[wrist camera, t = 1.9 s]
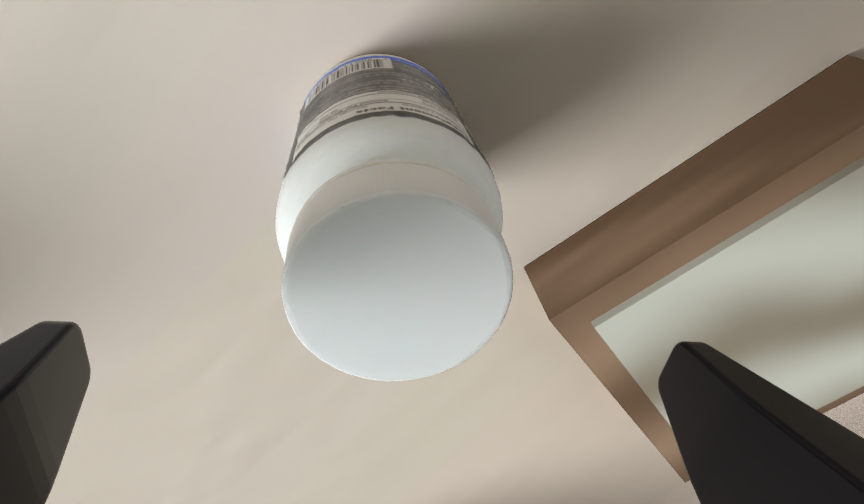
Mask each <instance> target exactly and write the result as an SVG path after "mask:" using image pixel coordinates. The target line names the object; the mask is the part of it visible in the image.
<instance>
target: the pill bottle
mask: <svg viewBox="0 0 864 504" xmlns="http://www.w3.org/2000/svg"><path fill="white" fill-rule="evenodd" d="M275 219H276V236H277V241H278V245H279V249H280V252H281V255H282V258H283V260H284V262H285V264H284V269H283V275H282V300H283V305H284V309H285V313H286V316H287V319H288V321H289V323H290V325H291V327H292V329H293V331H294V332H295V334H296V336H297V337H298V338H299V340H300V341H301V342H302V343H303V345H304V346H305V347H306V348H307V349H308V350H309V351H310V352H312V353H313V354H314V355H315V356H316V357H317V358H319V359H320V360H322V361H323V362H325V363H327V364H329V365H330V366H332V367H334V368H336V369H338V370H340V371H342V372H345V373H347V374H350V375H354V376H358V377H361V378H366V379H371V380H379V381H405V380H412V379H419V378H424V377H428V376H431V375H435V374H438V373H441V372H444V371H446V370H448V369H450V368H452V367H454V366H456V365H458V364H460V363H462V362H464V361H465V360H466V359H468V358H469V357H470V356H472V355H473V354H474V353H476V352H477V351H478V350H479V349H480V348H481V347H482V346H484V345H485V344H486V343H487V342H488V341H489V339H490V338H491V337H492V336H493V335H494V334H495V332H496V331H497V329H498V328H499V326H500V325H501V323H502V322H503V319H504V317H505V315H506V313H507V310H508V307H509V305H510V301H511V297H512V290H513V270H512V263H511V258H510V255H509V252H508V250H507V247H506V244H505V242H504V239H503V237H502V235H501V232H502V221H503V215H502V205H501V198H500V193H499V190H498V187H497V184H496V181H495V178H494V175H493V173H492V171H491V169H490V167H489V165H488V163H487V161H486V160H485V158H484V156H483V155H482V154H481V152H480V150H479V149H478V147H477V146H476V144H475V142H474V141H473V138H472V136H471V134H470V132H469V131H468V128H467V126H466V124H465V123H464V122H463V120H462V118H461V116H460V115H459V113H458V111H457V109H456V107H455V106H454V104H453V102H452V100H451V98H450V96H449V95H448V93H447V91H446V90H445V89H444V87H443V86H442V85H441V83H440V82H439V81H438V80H437V79H436V78H435V77H434V76H433V75H432V74H431V73H430V72H428V71H427V70H426V69H425V68H423V67H422V66H420V65H418V64H416V63H414V62H412V61H410V60H407V59H405V58H402V57H398V56H394V55H388V54H367V55H361V56H357V57H354V58H351V59H348V60H346V61H343V62H341V63H340V64H338V65H336V66H334V67H333V68H331V69H330V70H328V71H327V72H326V73H325V74H324V75H323V76H322V77H321V78H320V79H319V80H318V81H317V82H316V84H315V85H314V86H313V88H312V89H311V91H310V92H309V94H308V96H307V98H306V100H305V102H304V105H303V107H302V109H301V111H300V118H299V122H298V125H297V129H296V133H295V137H294V140H293V144H292V148H291V151H290V155H289V159H288V163H287V166H286V171H285V174H284V177H283V181H282V186H281V190H280V194H279V198H278V203H277V210H276V218H275Z"/></svg>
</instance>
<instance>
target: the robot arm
mask: <svg viewBox="0 0 864 504" xmlns="http://www.w3.org/2000/svg"><path fill="white" fill-rule="evenodd" d="M89 380H90V364H89V360H88V356H87V352H86V347H85V343H84V339H83V335H82V331H81V329H80V327H79V326H78V325H77V324H76V323H74V322H60V321H44V322H40V323H38V324H36V325H34V326H32V327H30V328H29V329H27V330H25V331H23V332H22V333H20V334H18V335H16V336H14V337H13V338H11V339H9V340H7V341H5V342H4V343H2V344H0V504H45V502H46V500H47V498H48V496H49V494H50V491H51V489H52V486H53V484H54V481H55V479H56V476H57V473H58V471H59V468H60V465H61V462H62V459H63V456H64V453H65V450H66V448H67V445H68V442H69V439H70V436H71V433H72V430H73V427H74V425H75V422H76V419H77V416H78V413H79V410H80V407H81V404H82V402H83V399H84V396H85V393H86V390H87V387H88V384H89ZM658 389H659V393H660V396H661V399H662V402H663V405H664V408H665V411H666V413H667V416H668V419H669V422H670V425H671V428H672V431H673V434H674V437H675V439H676V442H677V445H678V448H679V451H680V454H681V457H682V460H683V462H684V465H685V468H686V470H687V473H688V476H689V478H690V480H691V483H692V485H693V487H694V490H695V492H696V494H697V496H698V499H699V501H700V503H701V504H864V439H863V438H862V437H860V436H858V435H857V434H855V433H854V432H852V431H850V430H849V429H847V428H845V427H844V426H842V425H840V424H839V423H837V422H835V421H834V420H832V419H830V418H829V417H827V416H825V415H824V414H822V413H820V412H819V411H817V410H815V409H814V408H812V407H810V406H809V405H807V404H805V403H804V402H802V401H801V400H799V399H797V398H796V397H794V396H792V395H791V394H789V393H787V392H786V391H784V390H782V389H781V388H779V387H777V386H776V385H774V384H772V383H771V382H769V381H767V380H766V379H764V378H762V377H761V376H759V375H757V374H756V373H754V372H752V371H751V370H749V369H748V368H746V367H744V366H743V365H741V364H739V363H738V362H736V361H734V360H733V359H731V358H729V357H728V356H726V355H724V354H723V353H721V352H719V351H718V350H716V349H714V348H713V347H711V346H709V345H708V344H706V343H703V342H691V341H682V342H679V343H677V344H676V345H675V346H674V348H673V350H672V352H671V354H670V356H669V358H668V360H667V362H666V364H665V366H664V368H663V370H662V372H661V374H660V376H659V380H658Z"/></svg>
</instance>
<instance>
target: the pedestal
mask: <svg viewBox="0 0 864 504" xmlns="http://www.w3.org/2000/svg"><path fill="white" fill-rule="evenodd" d="M524 269H525V271H526V273H527V275H528V277H529V279H530V281H531V283H532V285H533V287H534V289H535V291H536V293H537V296H538V298H539V300H540V302H541V304H542V306H543V308H544V310H545V312H546V314H547V316H548V318H549V320H550V321H551V323H552V324H553V325H554V326H555V327H556V329H557V330H558V331H559V332H560V333H561V335H562V336H563V337H564V338H565V339H566V341H567V342H568V343H569V344H570V345H571V347H572V348H573V349H574V350H575V351H576V353H577V354H578V355H579V356H580V357H581V359H582V360H583V361H584V362H585V363H586V364H587V366H588V367H589V368H590V369H591V370H592V372H593V373H594V374H595V375H596V376H597V378H598V379H599V380H600V381H601V382H602V384H603V385H604V386H605V387H606V388H607V390H608V391H609V392H610V393H611V394H612V396H613V397H614V398H615V399H616V400H617V402H618V403H619V404H620V405H621V406H622V408H623V409H624V410H625V411H626V412H627V414H628V415H629V416H630V417H631V418H632V419H633V421H634V422H635V423H636V424H637V425H638V427H639V428H640V429H641V430H642V431H643V433H644V434H645V435H646V436H647V437H648V439H649V440H650V441H651V442H652V443H653V445H654V446H655V447H656V448H657V449H658V451H659V452H660V453H661V454H662V455H663V457H664V458H665V459H666V460H667V461H668V463H669V464H670V465H671V466H672V467H673V468H674V470H675V471H676V472H677V473H678V474H679V476H680V477H681V478H682V479H683V480H684V482H687V481H689V480H690V478H689V476H688V473H687V470H686V468H685V465H684V462H683V460H682V457H681V454H680V451H679V448H678V445H677V442H676V439H675V437H674V434H673V431H672V428H671V425H670V422H669V419H668V416H667V413H666V411H665V408H664V405H663V402H662V399H661V396H660V393H659V389H658V380H659V376H660V374H661V372H662V370H663V368H664V366H665V364H666V362H667V360H668V358H669V356H670V354H671V352H672V350H673V348H674V346H675V345H676V344H677V343H679V342H682V341H691V342H703V343H706V344H708V345H709V346H711V347H713V348H714V349H716V350H718V351H719V352H721V353H723V354H724V355H726V356H728V357H729V358H731V359H733V360H734V361H736V362H738V363H739V364H741V365H743V366H744V367H746V368H748V369H749V370H751V371H752V372H754V373H756V374H757V375H759V376H761V377H762V378H764V379H766V380H767V381H769V382H771V383H772V384H774V385H776V386H777V387H779V388H781V389H782V390H784V391H786V392H787V393H789V394H791V395H792V396H794V397H796V398H797V399H799V400H801V401H802V402H804V403H805V404H807V405H809V406H810V407H812V408H814V409H815V410H817V411H819V412H820V413H822V414H823V413H824V412H826V411H828V410H830V409H832V408H834V407H836V406H838V405H840V404H842V403H844V402H846V401H848V400H850V399H852V398H854V397H856V396H858V395H860V394H862V393H864V60H862V59H858V58H855V57H851V56H848V55H847V56H845V57H844V58H842V59H841V60H839V61H838V62H836V63H835V64H833V65H832V66H830V67H829V68H827V69H826V70H824V71H823V72H821V73H820V74H818V75H817V76H815V77H813V78H812V79H810V80H809V81H807V82H806V83H804V84H803V85H801V86H800V87H798V88H797V89H795V90H794V91H792V92H791V93H789V94H788V95H786V96H785V97H783V98H781V99H780V100H778V101H777V102H775V103H774V104H772V105H771V106H769V107H768V108H766V109H765V110H763V111H762V112H760V113H759V114H757V115H756V116H754V117H753V118H751V119H749V120H748V121H746V122H745V123H743V124H742V125H740V126H739V127H737V128H736V129H734V130H733V131H731V132H730V133H728V134H727V135H725V136H724V137H722V138H721V139H719V140H717V141H716V142H714V143H713V144H711V145H710V146H708V147H707V148H705V149H704V150H702V151H701V152H699V153H698V154H696V155H695V156H693V157H692V158H690V159H689V160H687V161H685V162H684V163H682V164H681V165H679V166H678V167H676V168H675V169H673V170H672V171H670V172H669V173H667V174H666V175H664V176H663V177H661V178H660V179H658V180H656V181H655V182H653V183H652V184H650V185H649V186H647V187H646V188H644V189H643V190H641V191H640V192H638V193H637V194H635V195H634V196H632V197H631V198H629V199H628V200H626V201H624V202H623V203H621V204H620V205H618V206H617V207H615V208H614V209H612V210H611V211H609V212H608V213H606V214H605V215H603V216H602V217H600V218H599V219H597V220H596V221H594V222H592V223H591V224H589V225H588V226H586V227H585V228H583V229H582V230H580V231H579V232H577V233H576V234H574V235H573V236H571V237H570V238H568V239H567V240H565V241H564V242H562V243H560V244H559V245H557V246H556V247H554V248H553V249H551V250H550V251H548V252H547V253H545V254H544V255H542V256H541V257H539V258H538V259H536V260H535V261H533V262H532V263H530V264H528V265H527V266H525V267H524Z"/></svg>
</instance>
